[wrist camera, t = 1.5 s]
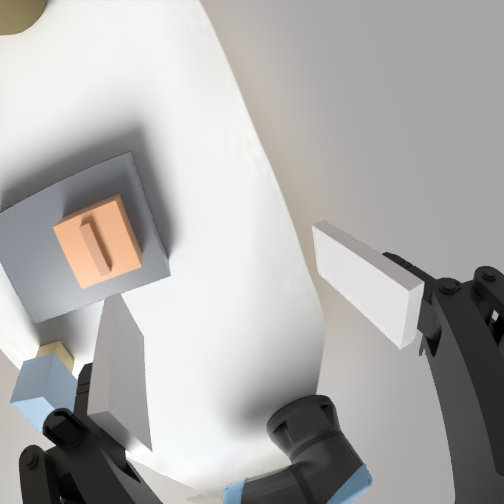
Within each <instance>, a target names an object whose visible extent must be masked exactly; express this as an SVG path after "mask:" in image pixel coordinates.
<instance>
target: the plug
mask: <svg viewBox="0 0 504 504" xmlns="http://www.w3.org/2000/svg"><path fill="white" fill-rule="evenodd" d="M73 365H74V360H73V358H72V357H71V356H70V354H69V353H68V351H67V350H66V349H65V347H64V346H63V344H62V343H61V342H60V340H59V341H56V342H53V343H49V344H46V345H43V346H40V347H39V350H38V352H37V355H36V358H34V359H30V360H27V361H24V362H23V365H22V368H21V371H20V374H19V376H18V379H17V382H16V385H15V388H14V391H13V394H12V398H11V401H10V403H11V404H12V406H13V407H14V408H15V409H16V410H17V411H18V412H19V413H20V414H21V415H22V416H24V417H25V418H26V419H27V420H28V421H29V422H30V423H31V424H32V425H33V426H34V427H35V428H37V429H38V430H39V431H40V432H43V430H42V427H43V423H44V421H45V419H46V417H47V416H48V415H49V414H50V413H51V412H52V411H53V410H55V409H57V408H67V409H69V410H70V411H71V412H72V413H73V410H74V403H75V396H76V389H77V387H78V386H77V383H78V381H77V380H76V379H75V377H74V376H73V375H72V370H73Z"/></svg>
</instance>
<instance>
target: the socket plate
mask: <svg viewBox="0 0 504 504" xmlns="http://www.w3.org/2000/svg"><path fill="white" fill-rule="evenodd" d="M117 194H120V195H121V198H122V201H123V204H124V206H125V209H126V212H127V215H128V217H129V220H130V223H131V225H132V228H133V231H134V233H135V236H136V238H137V241H138V243H139V246H140V248H141V251H142V253H143V258H142V267H140V268H137V269H135V270H132V271H129V272H126V273H124V274H121V275H118V276H116V277H113V278H110V279H107V280H105V281H102V282H99V283H97V284H94V285H91V286H89V287H86V288H83V289H82V288H81V286H80V284H79V282H78V280H77V278H76V277H75V275H74V273H73V271H72V269H71V266H70V264H69V262H68V260H67V258H66V256H65V254H64V252H63V250H62V247H61V245H60V243H59V241H58V238H57V236H56V234H55V231H54V229H53V226H54V225H55V224H56V223H57V222H58V221H59V220H60V219H61V218H62V217H65V216H67V215H69V214H71V213H74V212H76V211H78V210H81V209H83V208H85V207H88V206H90V205H92V204H95V203H97V202H100V201H102V200H104V199H107V198H109V197H112V196H114V195H117ZM0 262H1V264H2V266H3V268H4V270H5V272H6V274H7V276H8V278H9V280H10V282H11V284H12V286H13V288H14V289H15V291H16V293H17V295H18V297H19V298H20V300H21V302H22V303H23V305H24V307H25V308H26V310H27V312H28V313H29V315H30V317H31V318H32V320H33V321H34V323H35V324H37V323H40V322H43V321H46V320H48V319H51V318H54V317H57V316H60V315H62V314H65V313H68V312H71V311H73V310H76V309H79V308H82V307H85V306H87V305H90V304H93V303H96V302H99V301H101V300H104V299H105V298H106V297H108V296H111V295H114V294H117V293H120V294H121V293H124V292H127V291H129V290H132V289H135V288H138V287H141V286H144V285H146V284H149V283H152V282H155V281H158V280H160V279H163V278H166V277H169V276H171V275H170V267H169V260H168V257H167V255H166V252H165V250H164V247H163V244H162V242H161V239H160V236H159V233H158V231H157V228H156V225H155V222H154V220H153V217H152V214H151V211H150V208H149V205H148V202H147V199H146V196H145V193H144V190H143V187H142V184H141V181H140V178H139V175H138V172H137V168H136V165H135V162H134V159H133V155H132V152H131V151H130V152H127V153H124V154H122V155H119V156H117V157H114V158H111V159H109V160H106V161H104V162H101V163H99V164H97V165H94V166H92V167H90V168H87V169H85V170H83V171H80V172H78V173H76V174H74V175H71V176H69V177H67V178H65V179H63V180H61V181H59V182H57V183H55V184H53V185H50V186H48V187H46V188H44V189H43V190H41V191H39V192H37V193H35V194H33V195H31V196H29V197H27V198H25V199H24V200H22V201H20V202H18V203H16V204H15V205H13V206H11V207H9V208H8V209H6V210H4V211H2V212H1V213H0Z"/></svg>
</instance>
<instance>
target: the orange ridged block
mask: <svg viewBox="0 0 504 504" xmlns="http://www.w3.org/2000/svg"><path fill="white" fill-rule="evenodd" d="M53 229H54V231H55V234H56V236H57V238H58V241H59V243H60V245H61V247H62V250H63V252H64V254H65V256H66V258H67V260H68V262H69V264H70V266H71V269H72V271H73V273H74V275H75V277H76V278H77V280H78V282H79V284H80V286H81V288H82V289H83V288H86V287H89V286H91V285H94V284H97V283H99V282H102V281H105V280H107V279H110V278H113V277H116V276H118V275H121V274H124V273H126V272H129V271H132V270H135V269H137V268H140V267H142V258H143V253H142V251H141V248H140V246H139V243H138V241H137V238H136V236H135V233H134V231H133V228H132V225H131V223H130V220H129V217H128V215H127V212H126V209H125V206H124V204H123V201H122V198H121V195H120V194H117V195H114V196H112V197H109V198H107V199H104V200H102V201H100V202H97V203H95V204H92V205H90V206H88V207H85V208H83V209H81V210H78V211H76V212H74V213H71V214H69V215H67V216H65V217H62V218H61V219H60V220H59V221H58V222H57V223H56V224H55V225H54V226H53Z"/></svg>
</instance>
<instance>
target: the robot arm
mask: <svg viewBox="0 0 504 504" xmlns="http://www.w3.org/2000/svg"><path fill="white" fill-rule="evenodd" d="M312 231H313V238H314V245H315V253H316V261H317V269H318V273H319V274H320V275H321V276H322V277H323V278H324V279H325V280H326V281H327V282H329V283H330V284H331V285H332V286H333V287H334V288H335V289H336V290H337V291H338V292H340V293H341V294H342V295H343V296H344V297H345V298H346V299H347V300H348V301H349V302H351V304H353V305H354V306H355V307H356V308H357V309H358V310H359V311H360V312H361V313H362V314H363V315H364V316H366V317H367V318H368V319H369V320H370V321H371V322H372V323H373V324H374V325H375V326H376V327H377V328H378V329H379V330H380V331H381V332H383V333H384V334H385V335H386V336H387V337H388V338H389V339H390V340H391V341H392V342H393V343H394V344H395V345H396V346H397V347H398V348H399V349H402V348H404V347H405V346H407V345H408V344H410V343H411V342H413V341H414V340H415V337H416V332H417V329H418V330H419V331H421V332H422V333H423V337H422V341H421V345H420V349H419V356H421V355H422V352H423V348H424V349H425V352H426V353H425V354H426V355H427V358H428V362H429V365H430V369H431V372H432V376H433V379H434V383H435V386H436V390H437V394H438V398H439V402H440V406H441V411H442V414H443V419H444V424H445V429H446V434H447V439H448V445H449V450H450V456H451V463H452V470H453V478H454V487H455V503H454V504H504V275H503V274H502V273H501V272H500V271H498V270H497V269H495V268H493V267H490V266H482V267H479V268H477V269H476V271H475V274H474V279H473V280H471V281H467V282H464V283H460V282H459V281H457V280H455V279H452V278H440V279H437V280H436V279H434V278H433V277H432V276H430V275H428V274H427V273H425V272H424V271H422V270H420V269H419V268H417V267H416V266H413V265H412V264H411V263H409V262H406V260H404V259H402V258H401V257H399V256H398V255H395V254H391V253H388V252H385V253H383V254H380V253H379V252H377V251H375V250H373V249H372V248H371V247H369V246H367V245H366V244H364V243H362V242H361V241H359V240H357V239H356V238H354V237H352V236H350V235H349V234H347V233H345V232H344V231H342V230H340V229H338V228H337V227H335V226H334V225H332V224H330V223H328V222H327V221H322V222H319V223H316V224H314V225H312ZM494 310H495V311H496V312H497V313H498V314H499V316H498V318H497V320H496V321H495V320H494V319H493V318H492V315H493V312H494ZM77 386H78V387H77V389H76V396H75V403H74V410H73V413H72V412H71V411H70V410H69V409H67V408H57V409H55V410H53V411H52V412H51V413H50V414H49V415H48V416H47V417H46V419H45V421H44V423H43V427H42V430H43V435H44V436H46V437H47V438H48V439H49V440H50V441H52V442H53V443H54V444H55V445H56V446H55V447H53V448H51V449H48V450H47V451H44V450H43V449H42V448H40V447H39V446H37V445H30V446H28V447H26V448H25V449H24V450H23V452H22V453H21V455H20V458H19V472H20V484H21V492H22V500H23V504H163V503H162V502H161V501H160V500H159V498H158V497H157V496H156V495H155V494H154V492H153V491H152V490H151V489H150V487H149V486H148V485H147V484H146V482H145V481H144V480H143V478H142V477H141V476H140V475H139V473H138V472H137V471H136V469H135V468H134V467H133V465H132V464H131V463H130V462H129V461H128V460H126V455H125V450H127V451H128V452H129V453H130V454H131V455H133V456H137V455H142V454H147V453H152V445H151V437H150V428H149V418H148V408H147V396H146V381H145V362H144V337H143V335H142V333H141V331H140V330H139V328H138V326H137V324H136V322H135V321H134V319H133V317H132V315H131V313H130V311H129V310H128V308H127V306H126V304H125V302H124V300H123V298H122V296H121V294H120V293H117V294H114V295H111V296H108V297H106V298H105V301H104V306H103V311H102V315H101V320H100V325H99V331H98V336H97V341H96V347H95V353H94V360H93V362H92V363H89V364H85V365H84V366H83V368H82V370H81V372H80V374H79V377H78V383H77ZM267 433H268V435H269V437H270V439H271V440H272V442H273V443H274V444H275V445H277V446H278V447H279V448H280V449H281V450H282V451H283V452H284V453H285V454H286V455H287V456H288V457H289V458H290V460H291V462H292V465H290V466H287V467H284V468H281V469H278V470H275V471H272V472H269V473H266V474H262V475H259V476H256V477H252V478H245V479H244V480H242V481H239V482H236V483H232V484H229V485H228V486H226V487H225V489H224V492H223V503H224V504H350V503H351V502H353V501H354V500H356V499H357V498H358V497H359V496H361V495H362V494H363V493H364V492H365V491H367V490H368V488H369V487H370V486H371V484H372V476H371V475H370V473H369V471H368V470H367V468H366V465H365V464H364V463H363V462H362V460H361V459H360V457H359V456H358V454H357V453H356V451H355V450H354V449H353V447H352V446H351V444H350V443H349V441H348V440H347V438H346V437H345V436H344V434H343V433H342V431H341V429H340V425H339V420H338V416H337V412H336V408H335V405H334V404H333V402H332V401H331V400H330V398H328V397H327V396H324V395H313V396H308V397H305V398H302V399H299V400H297V401H295V402H293V403H291V404H289V405H287V406H285V407H284V408H282V409H281V410H280V411H278V412H277V413H276V414H275V415H274V416H273V417H272V418H271V419H270V421H269V422H268V424H267ZM60 497H61V500H60Z"/></svg>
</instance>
